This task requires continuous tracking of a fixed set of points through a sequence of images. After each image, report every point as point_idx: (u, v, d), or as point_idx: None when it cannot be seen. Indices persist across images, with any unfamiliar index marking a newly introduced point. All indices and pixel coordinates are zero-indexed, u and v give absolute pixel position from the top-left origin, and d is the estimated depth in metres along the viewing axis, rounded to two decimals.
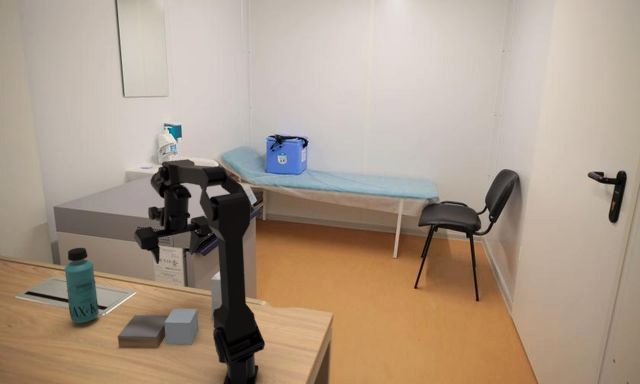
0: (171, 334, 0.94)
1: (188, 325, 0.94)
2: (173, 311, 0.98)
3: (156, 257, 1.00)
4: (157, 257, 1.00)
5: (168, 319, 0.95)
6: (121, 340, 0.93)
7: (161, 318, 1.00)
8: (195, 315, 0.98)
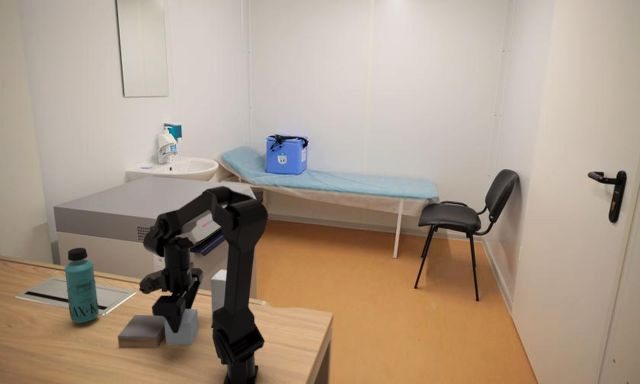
0: (171, 334, 0.94)
1: (188, 325, 0.94)
2: None
3: (180, 323, 0.91)
4: (180, 322, 0.91)
5: None
6: (121, 340, 0.93)
7: (161, 318, 1.00)
8: (195, 315, 0.98)
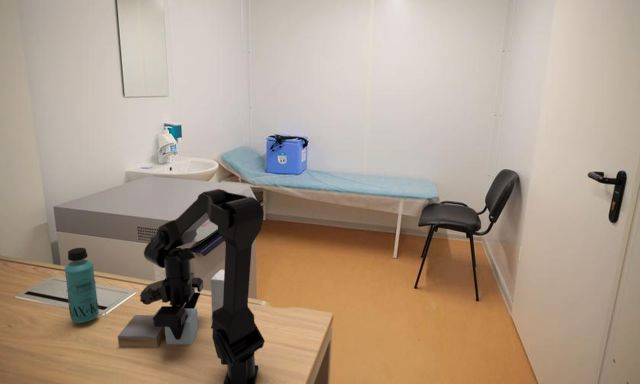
0: (171, 333, 0.94)
1: (188, 325, 0.94)
2: None
3: (183, 329, 0.93)
4: (183, 329, 0.93)
5: None
6: (121, 340, 0.93)
7: None
8: (195, 315, 0.98)
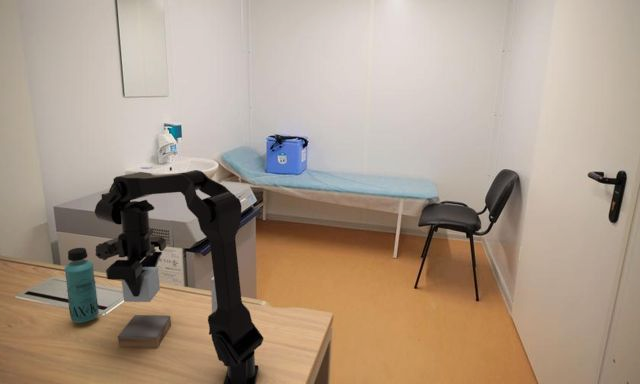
0: (128, 290, 0.91)
1: (146, 281, 0.91)
2: None
3: (140, 286, 0.90)
4: (141, 285, 0.90)
5: None
6: (121, 340, 0.93)
7: (161, 318, 1.00)
8: (155, 272, 0.95)
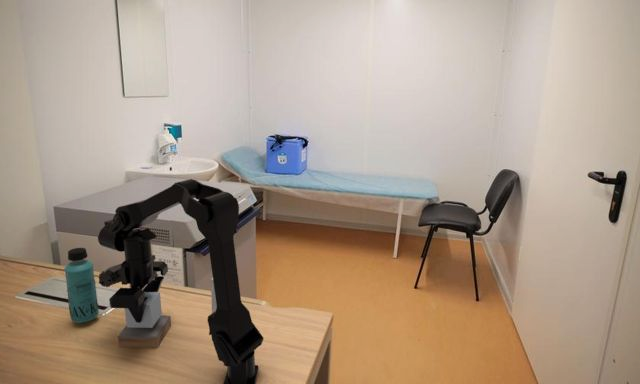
0: (131, 316, 0.93)
1: (148, 307, 0.92)
2: None
3: (143, 312, 0.92)
4: (143, 312, 0.92)
5: None
6: (121, 340, 0.93)
7: (161, 318, 1.00)
8: (157, 298, 0.97)
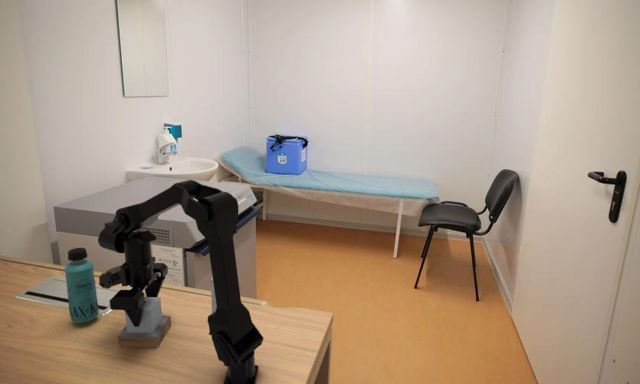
0: None
1: (148, 313, 0.93)
2: None
3: (141, 316, 0.91)
4: (141, 316, 0.91)
5: None
6: (121, 340, 0.93)
7: None
8: (157, 303, 0.97)
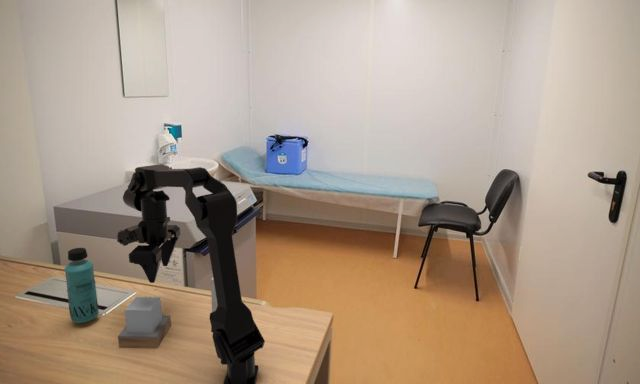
0: (131, 321, 0.93)
1: (148, 313, 0.93)
2: (135, 299, 0.97)
3: (156, 272, 0.95)
4: (157, 272, 0.96)
5: (129, 307, 0.94)
6: (121, 340, 0.93)
7: None
8: (157, 303, 0.97)
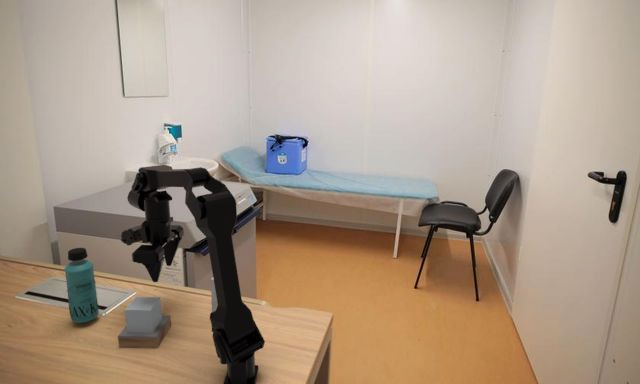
0: (131, 321, 0.93)
1: (148, 313, 0.93)
2: (135, 299, 0.97)
3: (159, 271, 0.96)
4: (160, 271, 0.97)
5: (129, 307, 0.94)
6: (121, 340, 0.93)
7: None
8: (157, 303, 0.97)
